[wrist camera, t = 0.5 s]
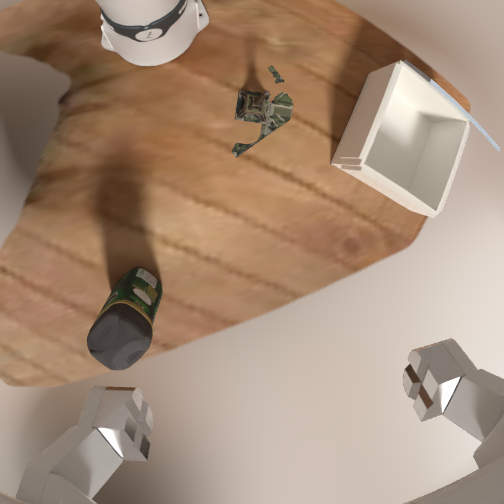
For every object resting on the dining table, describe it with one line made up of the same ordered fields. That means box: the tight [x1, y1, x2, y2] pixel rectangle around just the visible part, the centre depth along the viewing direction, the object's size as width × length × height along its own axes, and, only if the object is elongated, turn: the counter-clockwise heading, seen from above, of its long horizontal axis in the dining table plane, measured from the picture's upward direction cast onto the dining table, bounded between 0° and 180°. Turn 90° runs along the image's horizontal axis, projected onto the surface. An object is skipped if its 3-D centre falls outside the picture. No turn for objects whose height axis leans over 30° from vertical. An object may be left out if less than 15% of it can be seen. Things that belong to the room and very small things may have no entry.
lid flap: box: [404, 59, 501, 151], centre depth 37 cm, size 11×17×1 cm
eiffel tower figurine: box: [232, 66, 293, 157], centre depth 43 cm, size 15×10×13 cm
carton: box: [330, 60, 470, 218], centre depth 48 cm, size 21×19×11 cm
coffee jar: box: [87, 268, 162, 370], centre depth 45 cm, size 10×8×19 cm
